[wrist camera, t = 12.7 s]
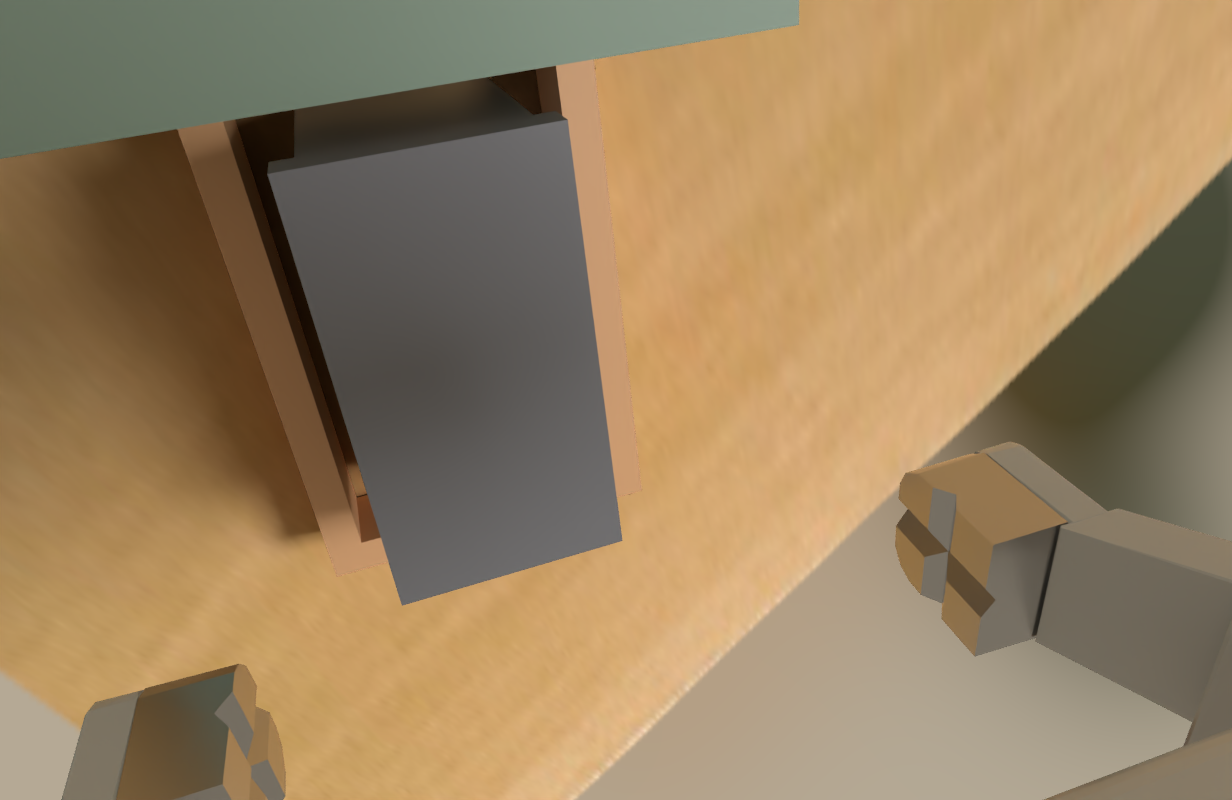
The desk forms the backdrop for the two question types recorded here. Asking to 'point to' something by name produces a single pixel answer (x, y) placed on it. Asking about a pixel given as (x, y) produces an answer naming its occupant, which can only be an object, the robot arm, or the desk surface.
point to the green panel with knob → (322, 74)
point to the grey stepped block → (455, 326)
